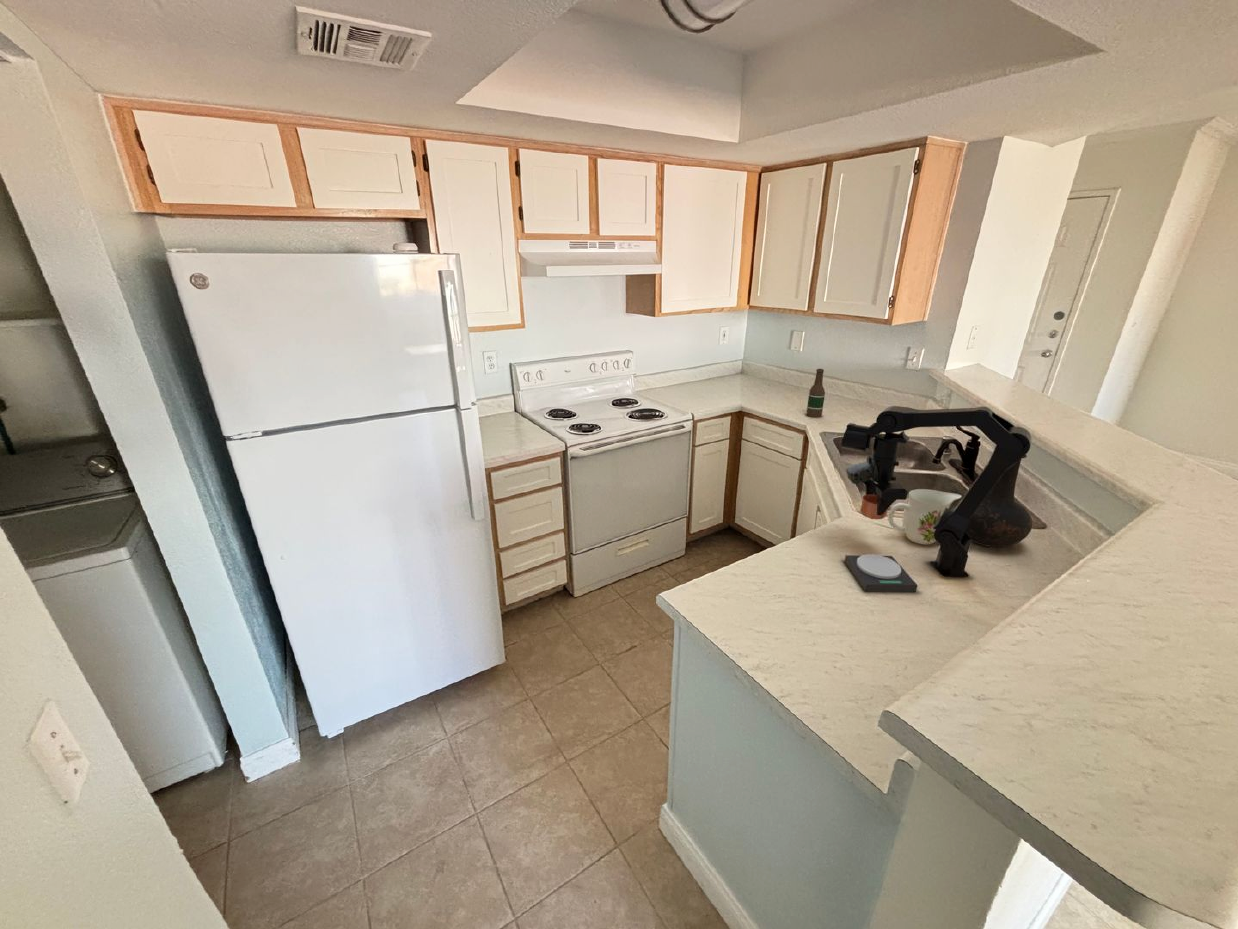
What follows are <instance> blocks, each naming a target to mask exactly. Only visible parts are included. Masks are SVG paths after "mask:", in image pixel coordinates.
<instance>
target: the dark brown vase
mask: <svg viewBox="0 0 1238 929" xmlns="http://www.w3.org/2000/svg"><path fill="white" fill-rule="evenodd" d="M1027 457H1028V456H1027V454H1026V455H1025V456H1024V457H1022V458H1021V459H1020V460H1019V461H1018V462H1017V463H1016V464H1014V465H1013V466H1012V467H1010V468H1009V469H1008V470H1006V471H1005V472H1004V474H1003V475H1002V476H1001V478H1000V479H999V481H998V482H997V483H996V485H995V486H994V487H993V489H992V490H991V491H990V493H989V494H988V495H987V497H986V498H985V499H984V501H983V502H982V503H981V505H980V506H979V507H978V509H977V510H976V512H975V513H974V514H973V516H972V517H971V518H970V521H969V523H968V526H967V528H966V530H965V531H966V532H967V534H968V535H969V536H970V537H971V538H972V542H973V543H976V544H979V545H981V546H984V547H985V546H986V547H989V548H1007V547H1011V546H1013V545H1016V544H1018V543H1020V542H1022V541H1023V540H1025V539H1026V538H1027V537H1028V536H1029V534H1030V533H1031V531H1032V528H1033V519H1032V516H1031V515H1030V513H1029V512H1028V510H1027V509H1026V508H1025V507H1024V506H1022V504H1020V503H1019V502H1017V501H1016V500H1015V492H1016V491H1015V490H1016V483H1017V479H1018V474H1019V470H1020V467H1021V462H1022V459H1026V458H1027ZM961 500H962V498H960V499H959V501H958V502H956V503H955V505H954V507H953V509H954V508H955V507H956V506H957V505H958V504H959V502H960V501H961Z"/></svg>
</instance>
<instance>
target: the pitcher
mask: <svg viewBox="0 0 1238 929" xmlns="http://www.w3.org/2000/svg"><path fill="white" fill-rule="evenodd" d="M962 498H963V497H962V495H961V494H959V493H955V492H945V491H940V490H936V489H926V488H918V489H916V488H915V489H912V490H910V491H909V492H908V502H907V503H904V502H897V503H895V504H894V505H892V506H891V508H890V509H889V512H888V513H887V520H888V524H889V525H890V526H891V527H892V528H893V529H894V530H896V531H899V532H902V533H905V535H906V538H908V540H910V541H911V542H913V543H916V544H919V545H932V544H933V543H935V542H937V541H936V540H935V538H934V532H935V530H936V529H933V527H934V525H935V523H936V521H937V519H938V518H939V517H941V516H942V514H943V512H944V510H945V508H946V507H947V508H948V509H949V510H950V506H951V505H952V503H954V502H955V501H957V500H961V499H962ZM901 508H903V512H902V520H901V521H902V525H898V524H897V523H895V520H894V514H895V512H896V511H897V510H898V509H901Z"/></svg>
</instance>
